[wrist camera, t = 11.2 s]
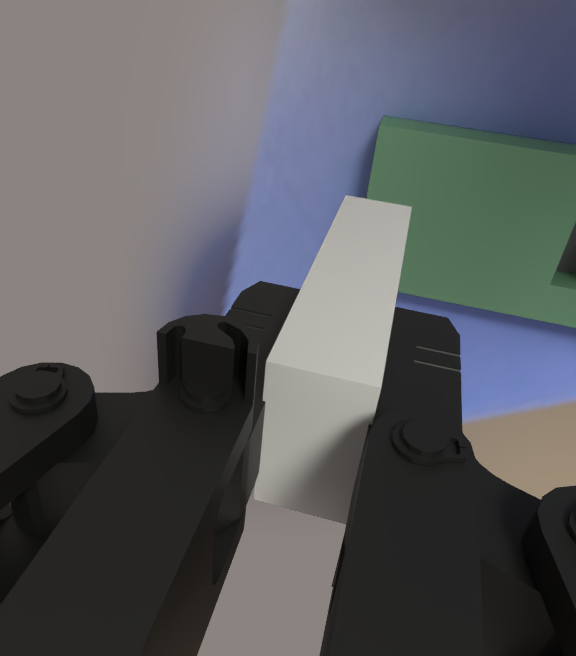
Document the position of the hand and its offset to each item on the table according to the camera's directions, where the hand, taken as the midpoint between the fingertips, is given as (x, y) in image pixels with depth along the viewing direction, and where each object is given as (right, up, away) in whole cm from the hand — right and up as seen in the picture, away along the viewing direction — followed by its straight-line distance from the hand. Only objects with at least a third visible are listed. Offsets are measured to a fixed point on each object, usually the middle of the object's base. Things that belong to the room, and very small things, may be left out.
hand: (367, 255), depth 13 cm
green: (+15, +6, +28) cm, 32 cm away
